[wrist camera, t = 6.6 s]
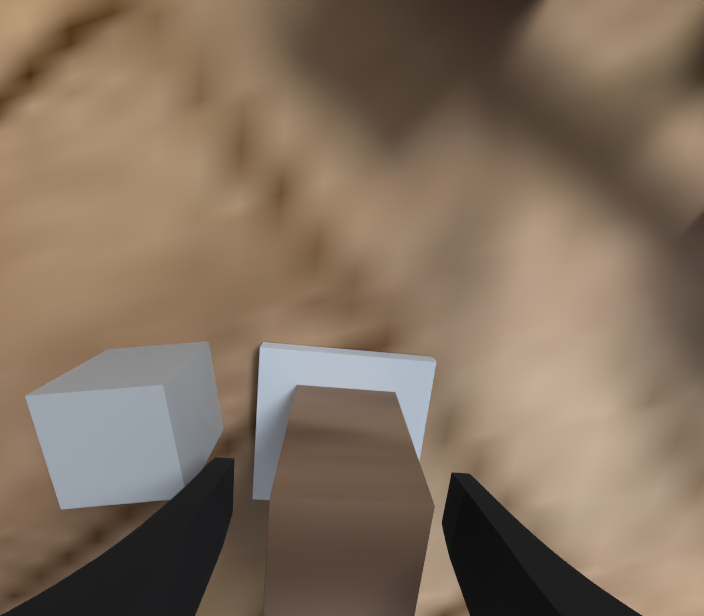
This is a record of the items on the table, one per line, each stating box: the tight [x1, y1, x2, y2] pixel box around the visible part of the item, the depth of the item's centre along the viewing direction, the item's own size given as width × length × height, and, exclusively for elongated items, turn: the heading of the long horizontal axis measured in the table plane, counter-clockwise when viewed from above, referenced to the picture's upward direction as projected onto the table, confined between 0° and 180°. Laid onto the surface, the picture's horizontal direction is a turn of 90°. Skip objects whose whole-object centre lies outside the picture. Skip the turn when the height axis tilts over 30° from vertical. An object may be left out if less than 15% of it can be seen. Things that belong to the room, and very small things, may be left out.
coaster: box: [253, 342, 436, 500], centre depth 15 cm, size 7×7×1 cm
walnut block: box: [263, 385, 435, 616], centre depth 12 cm, size 4×4×6 cm
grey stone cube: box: [25, 341, 224, 509], centre depth 13 cm, size 4×4×4 cm
